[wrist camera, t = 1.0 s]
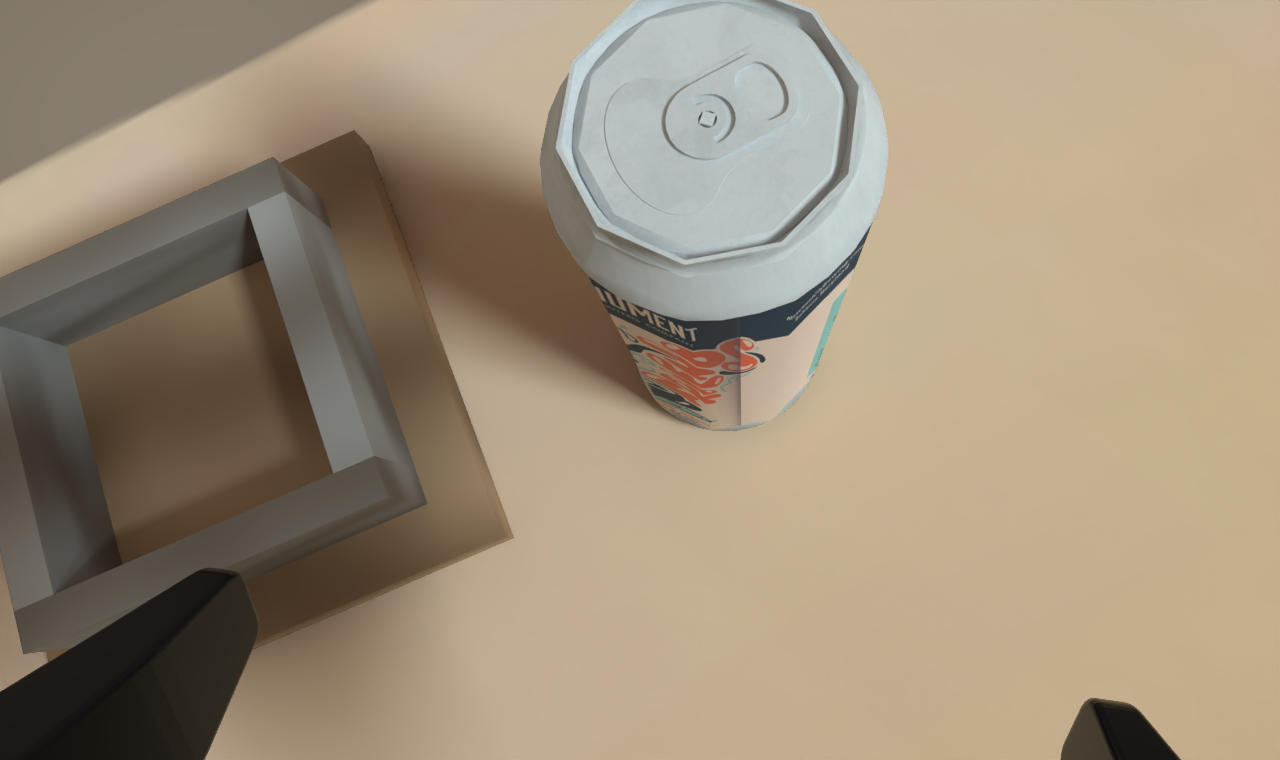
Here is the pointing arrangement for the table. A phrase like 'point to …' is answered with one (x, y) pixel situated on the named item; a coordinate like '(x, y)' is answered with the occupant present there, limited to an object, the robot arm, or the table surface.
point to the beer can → (717, 195)
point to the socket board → (233, 408)
